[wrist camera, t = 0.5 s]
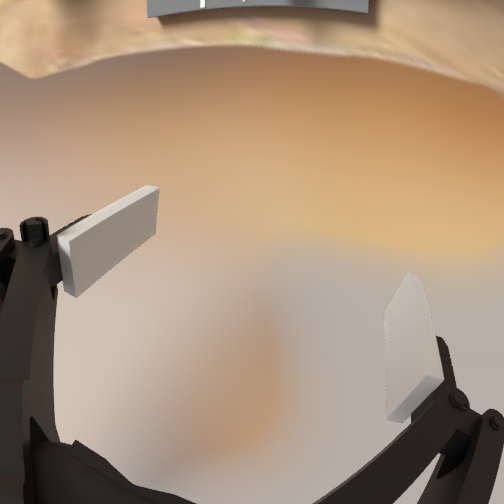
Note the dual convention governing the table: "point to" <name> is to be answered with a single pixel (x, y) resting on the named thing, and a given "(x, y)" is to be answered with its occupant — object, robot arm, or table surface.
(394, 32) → the table surface
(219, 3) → the console
